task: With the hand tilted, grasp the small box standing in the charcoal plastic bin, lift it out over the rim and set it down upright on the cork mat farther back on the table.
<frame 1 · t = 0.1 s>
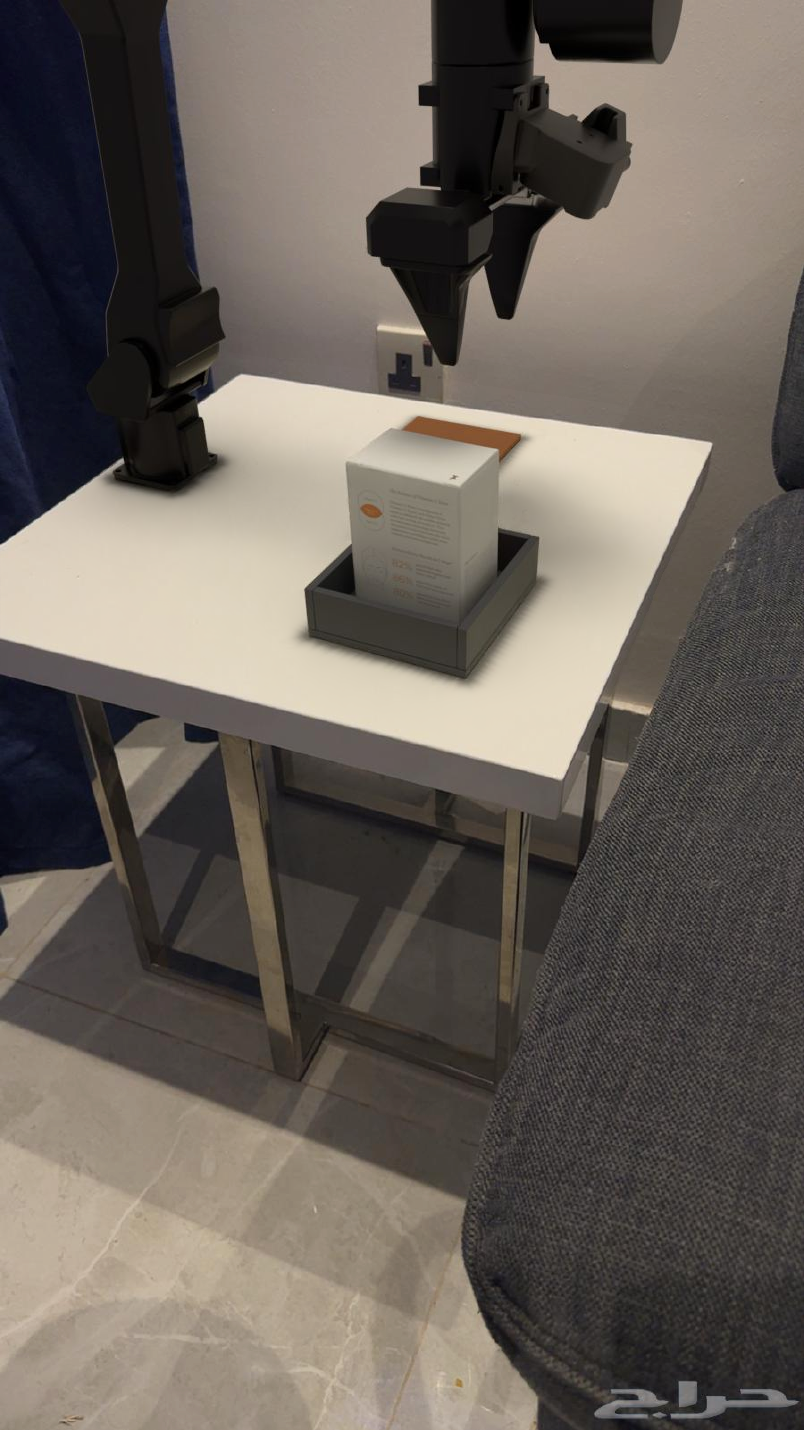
hand: (478, 340, 67), 15 cm above the table, tool pointing down, fingers open, 9 cm apart
bin: (426, 608, 69), on the table
small box: (426, 602, 69), resting on bin
mat: (447, 449, 89), on the table
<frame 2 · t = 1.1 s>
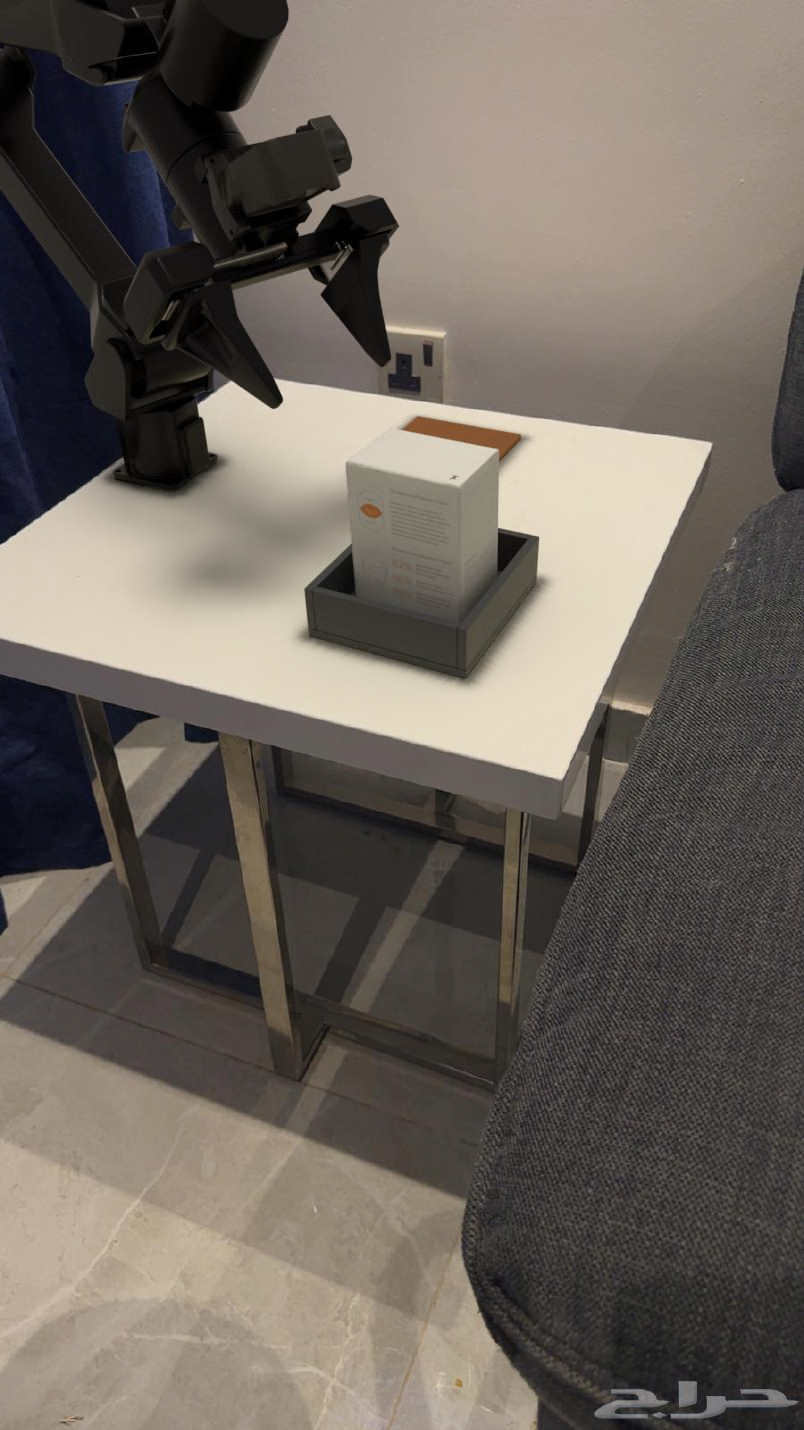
hand: (334, 383, 66), 13 cm above the table, tool tilted 45°, fingers open, 9 cm apart
nothing on the table moved.
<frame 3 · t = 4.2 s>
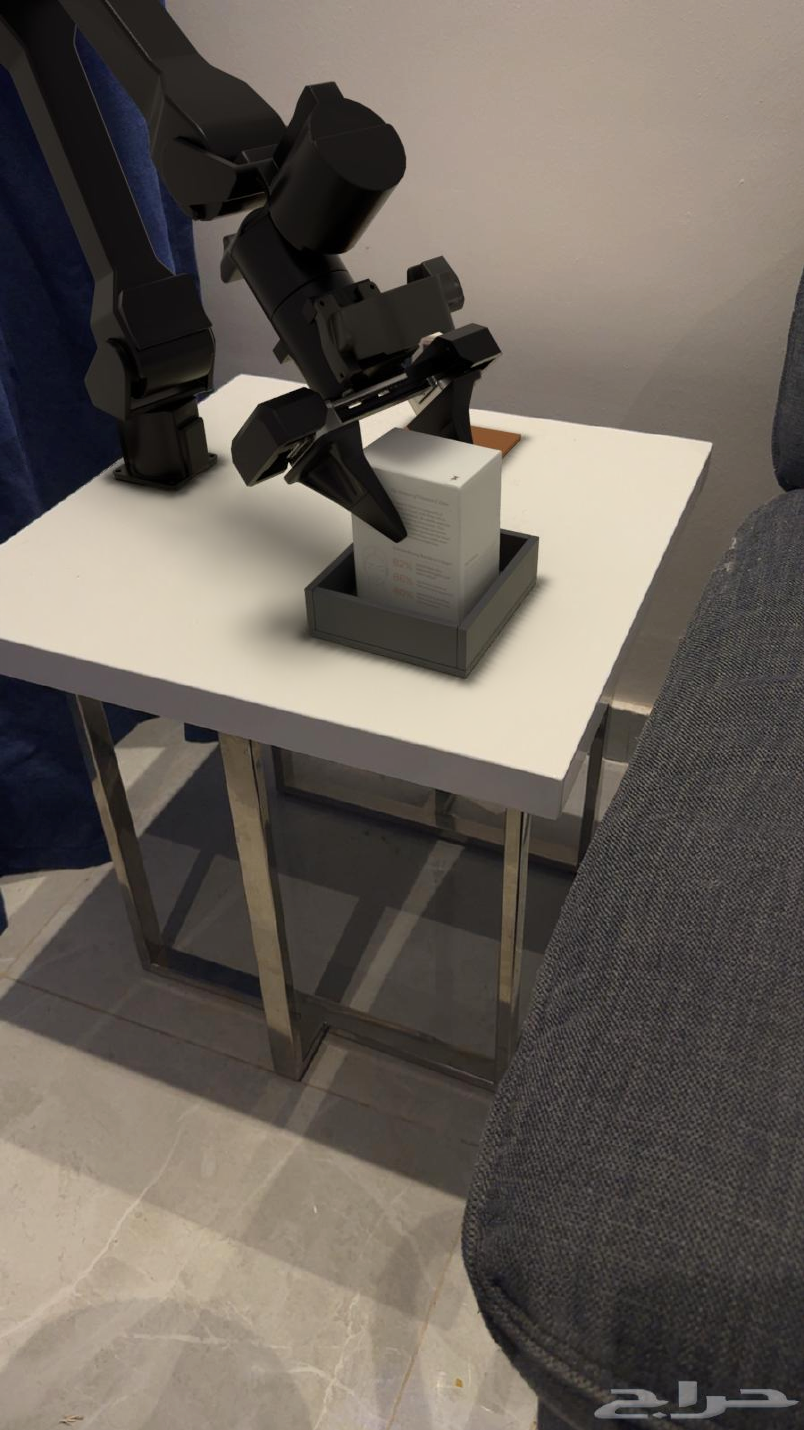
hand: (441, 520, 64), 7 cm above the table, tool tilted 45°, fingers closed on small box, 6 cm apart
small box: (427, 602, 69), resting on bin, touching gripper
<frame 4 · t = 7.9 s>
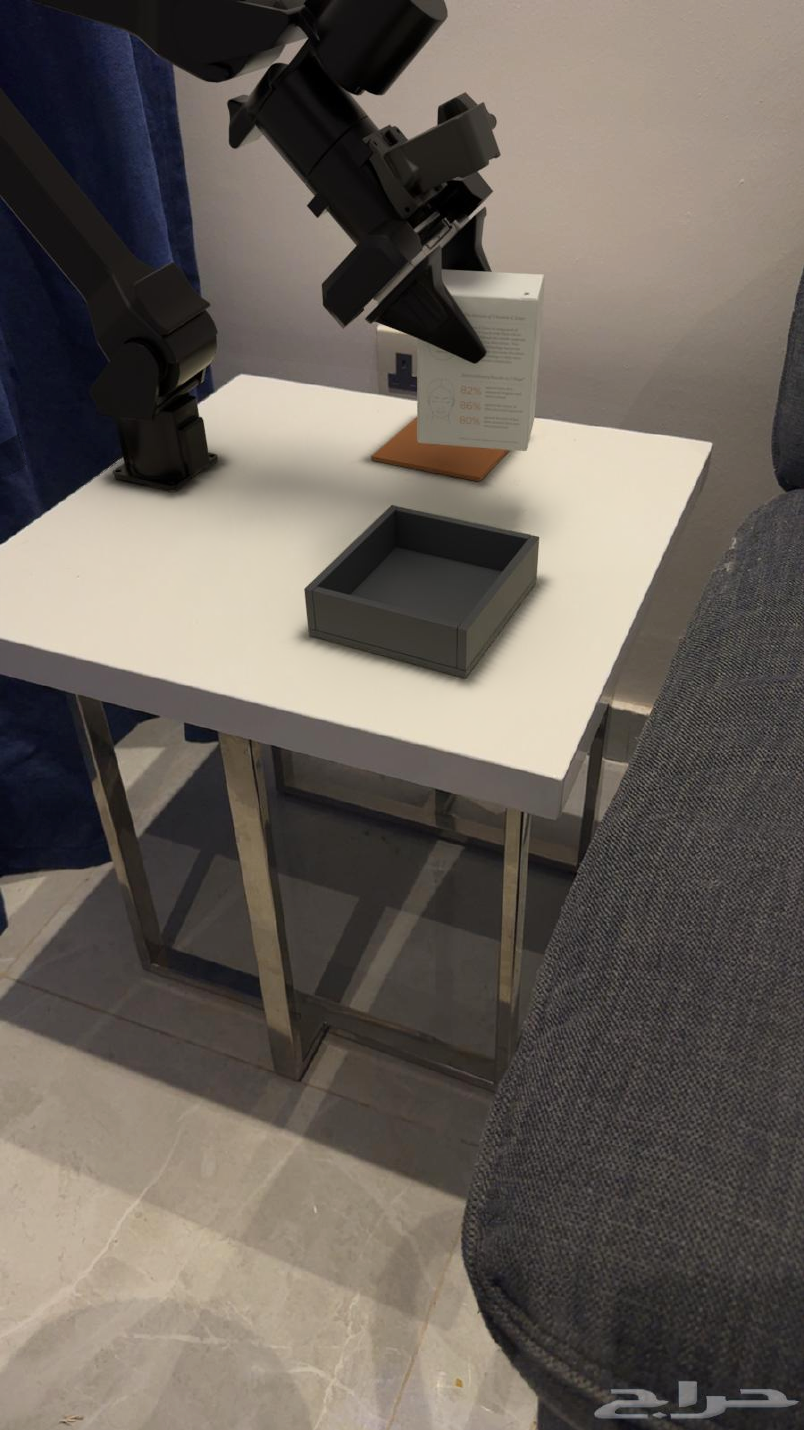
hand: (494, 342, 70), 13 cm above the table, tool tilted 45°, fingers closed on small box, 6 cm apart
small box: (475, 435, 75), point 7 cm above the table, touching gripper
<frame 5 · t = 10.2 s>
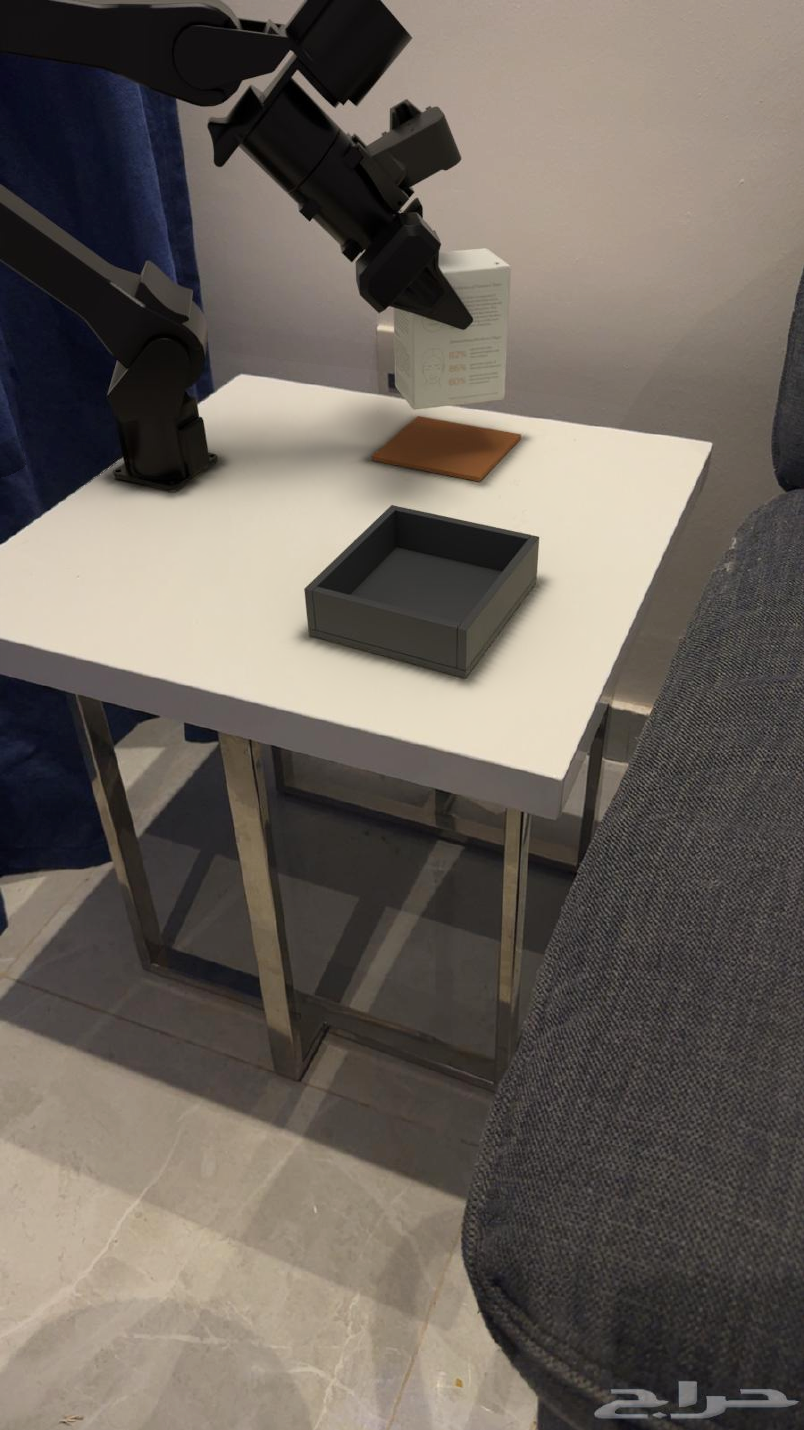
hand: (462, 311, 81), 11 cm above the table, tool tilted 45°, fingers closed on small box, 6 cm apart
small box: (448, 396, 85), point 5 cm above the table, touching gripper
when the fingers open (7 cm above the table, at t = 11.9 s): small box stays where it is, resting on mat.
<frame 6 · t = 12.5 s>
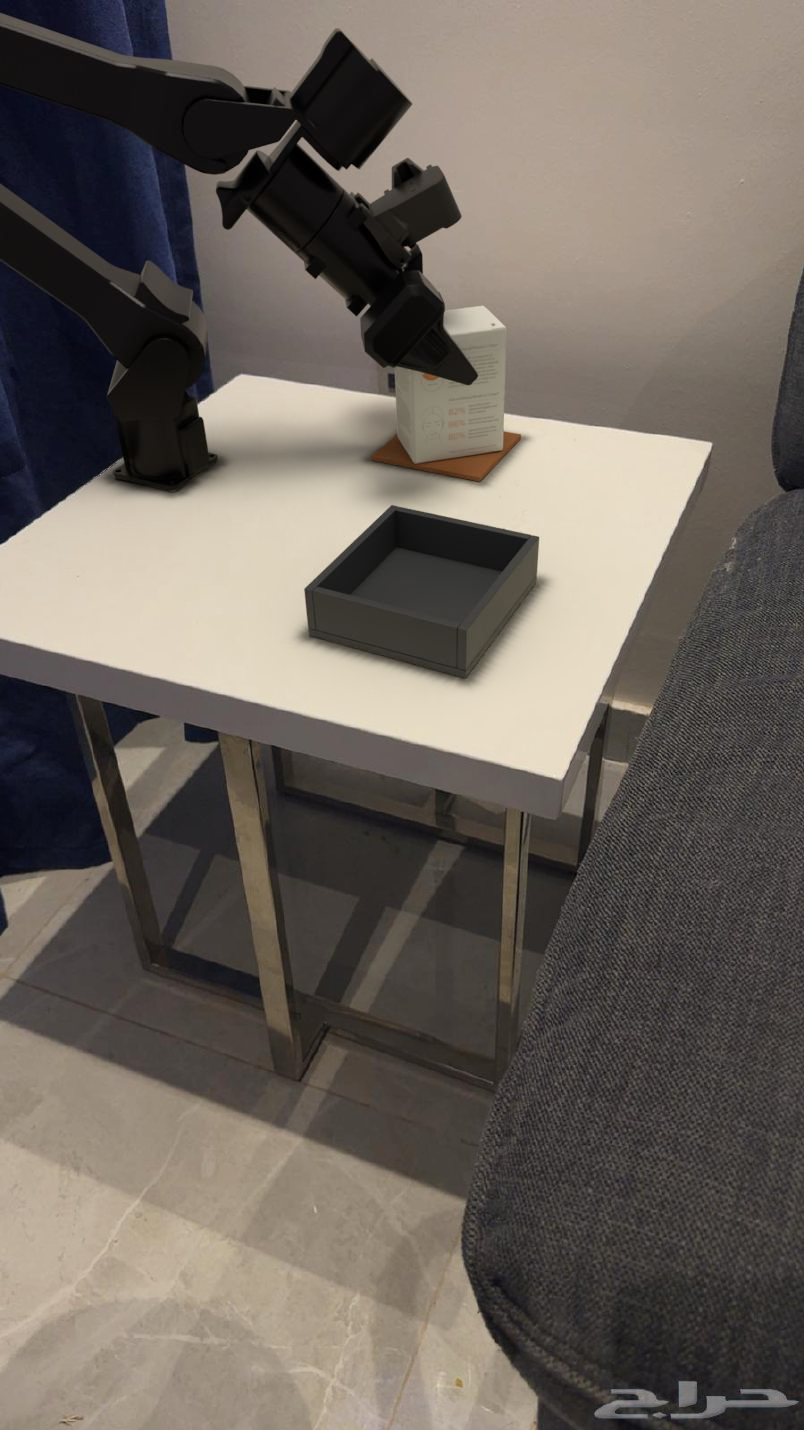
hand: (464, 359, 84), 8 cm above the table, tool tilted 45°, fingers open, 9 cm apart
small box: (448, 447, 88), resting on mat
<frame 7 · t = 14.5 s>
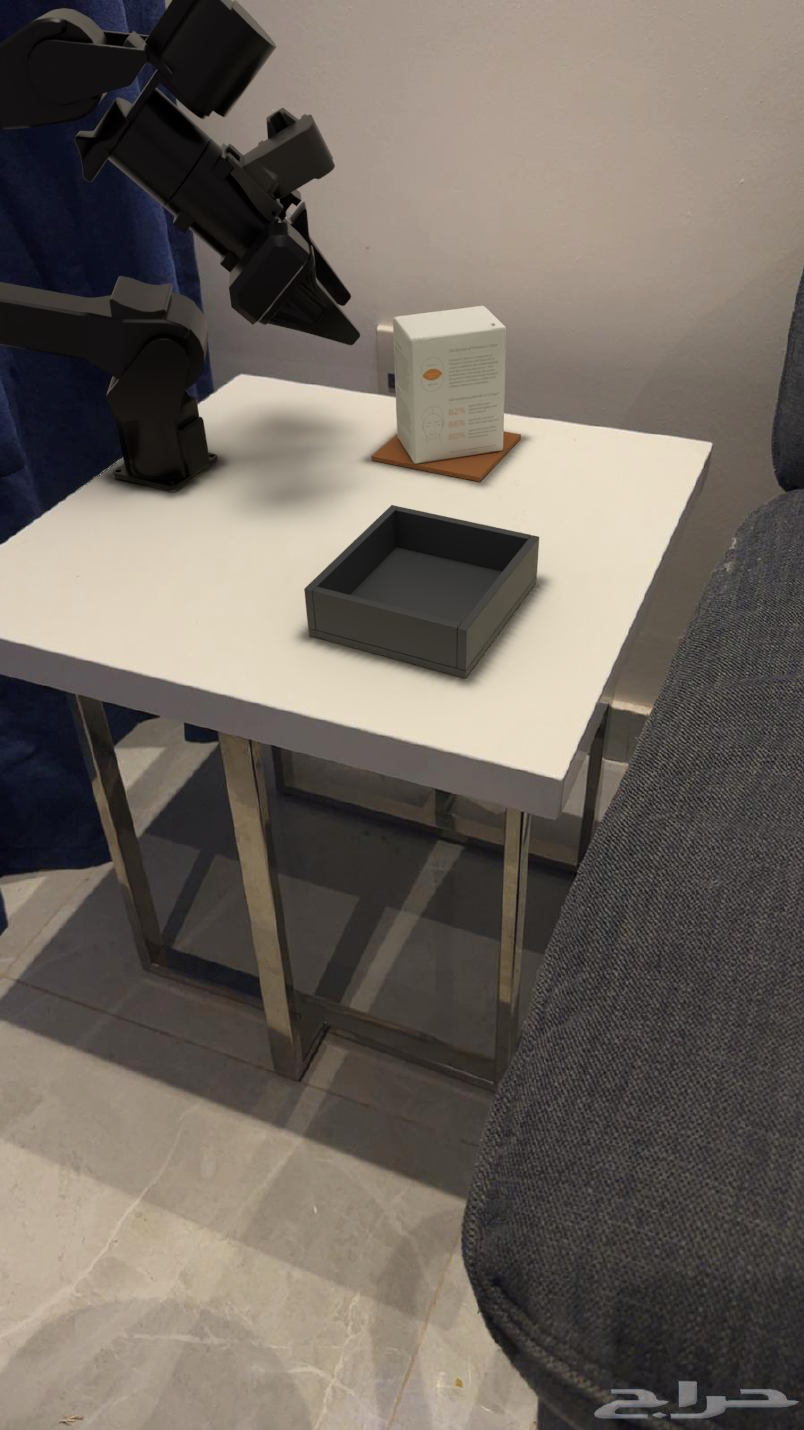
hand: (351, 319, 81), 11 cm above the table, tool tilted 45°, fingers open, 9 cm apart
nothing on the table moved.
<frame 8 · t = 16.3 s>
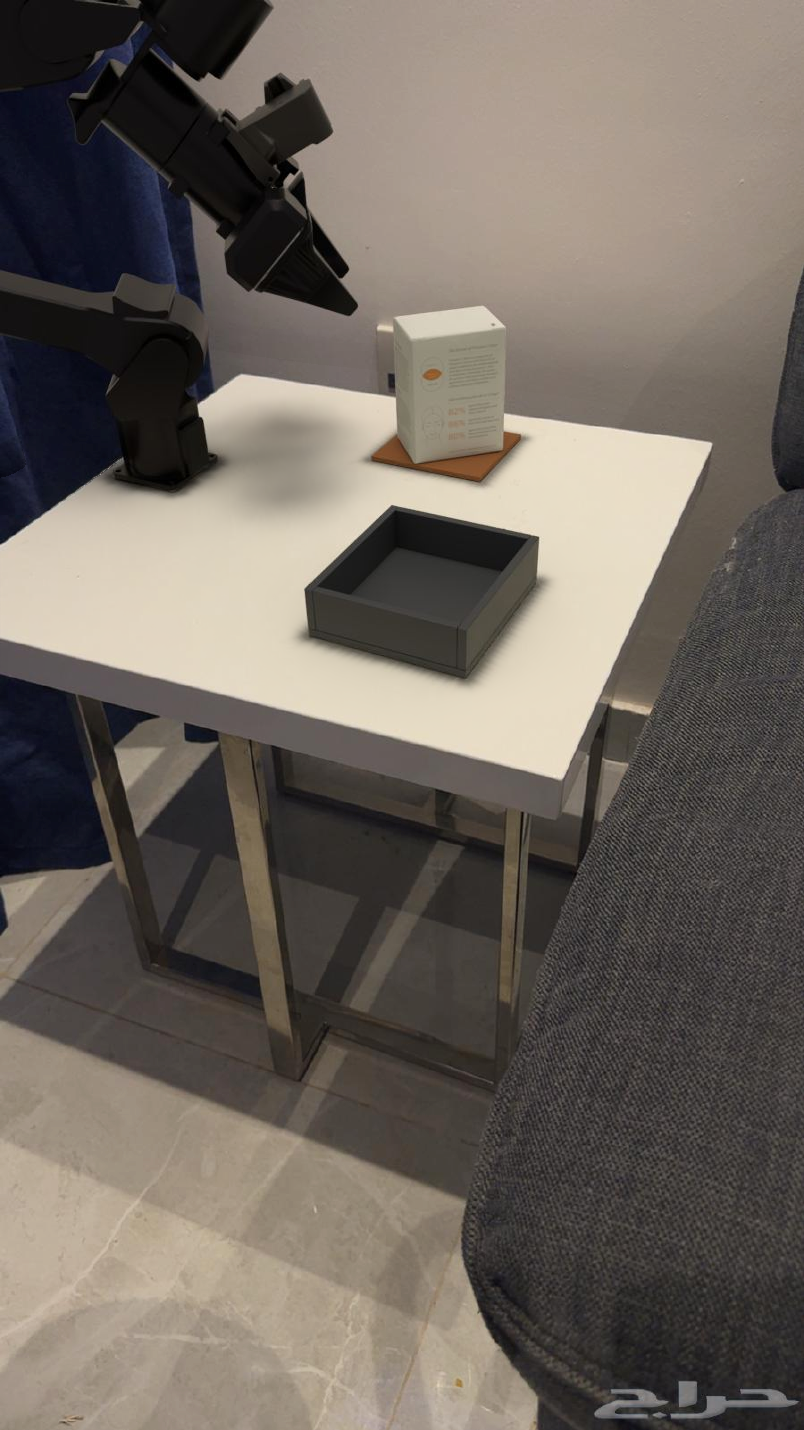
hand: (349, 291, 79), 14 cm above the table, tool tilted 45°, fingers open, 9 cm apart
nothing on the table moved.
at the end: small box inside the target area on the mat (0.2 cm from its centre), point 0.2 cm above the mat's base; small box tilted 0°; the gripper is holding nothing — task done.
